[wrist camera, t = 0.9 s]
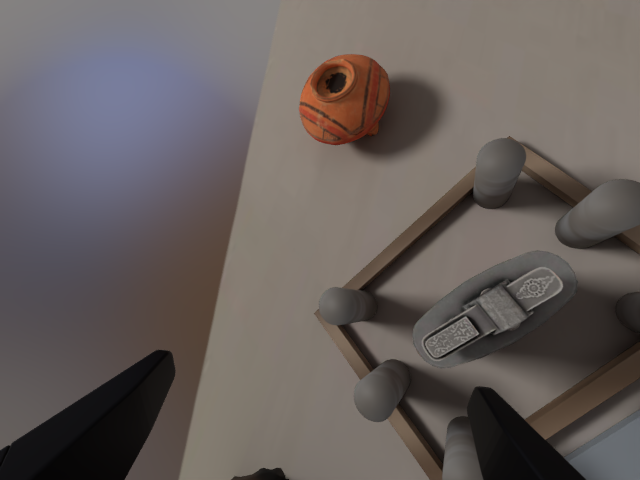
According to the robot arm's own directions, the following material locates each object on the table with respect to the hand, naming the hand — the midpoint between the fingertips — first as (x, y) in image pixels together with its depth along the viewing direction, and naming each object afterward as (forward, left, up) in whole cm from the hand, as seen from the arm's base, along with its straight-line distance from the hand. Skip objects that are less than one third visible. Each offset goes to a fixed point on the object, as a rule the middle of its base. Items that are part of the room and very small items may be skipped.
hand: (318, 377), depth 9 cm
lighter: (-2, -5, -16) cm, 17 cm away
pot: (+17, -9, -16) cm, 25 cm away
